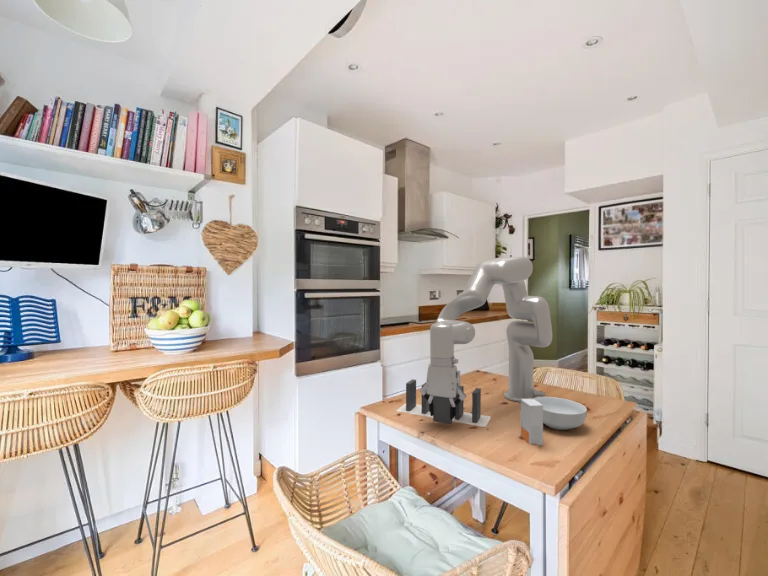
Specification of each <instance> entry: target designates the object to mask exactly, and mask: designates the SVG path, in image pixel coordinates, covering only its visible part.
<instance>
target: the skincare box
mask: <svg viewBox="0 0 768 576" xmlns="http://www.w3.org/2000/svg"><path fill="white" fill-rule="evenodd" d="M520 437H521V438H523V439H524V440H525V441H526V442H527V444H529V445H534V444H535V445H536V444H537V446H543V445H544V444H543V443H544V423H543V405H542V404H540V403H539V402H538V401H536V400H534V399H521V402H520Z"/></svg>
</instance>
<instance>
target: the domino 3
mask: <svg viewBox="0 0 768 576" xmlns="http://www.w3.org/2000/svg"><path fill="white" fill-rule="evenodd" d="M450 407H451V403H450V400H449V398H444V397H437V396H434V397H433V418H432V422H434V423H438V424H439V423H440V424H444V425H445V424H446V425H452V424H453V421H452V419H450Z"/></svg>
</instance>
